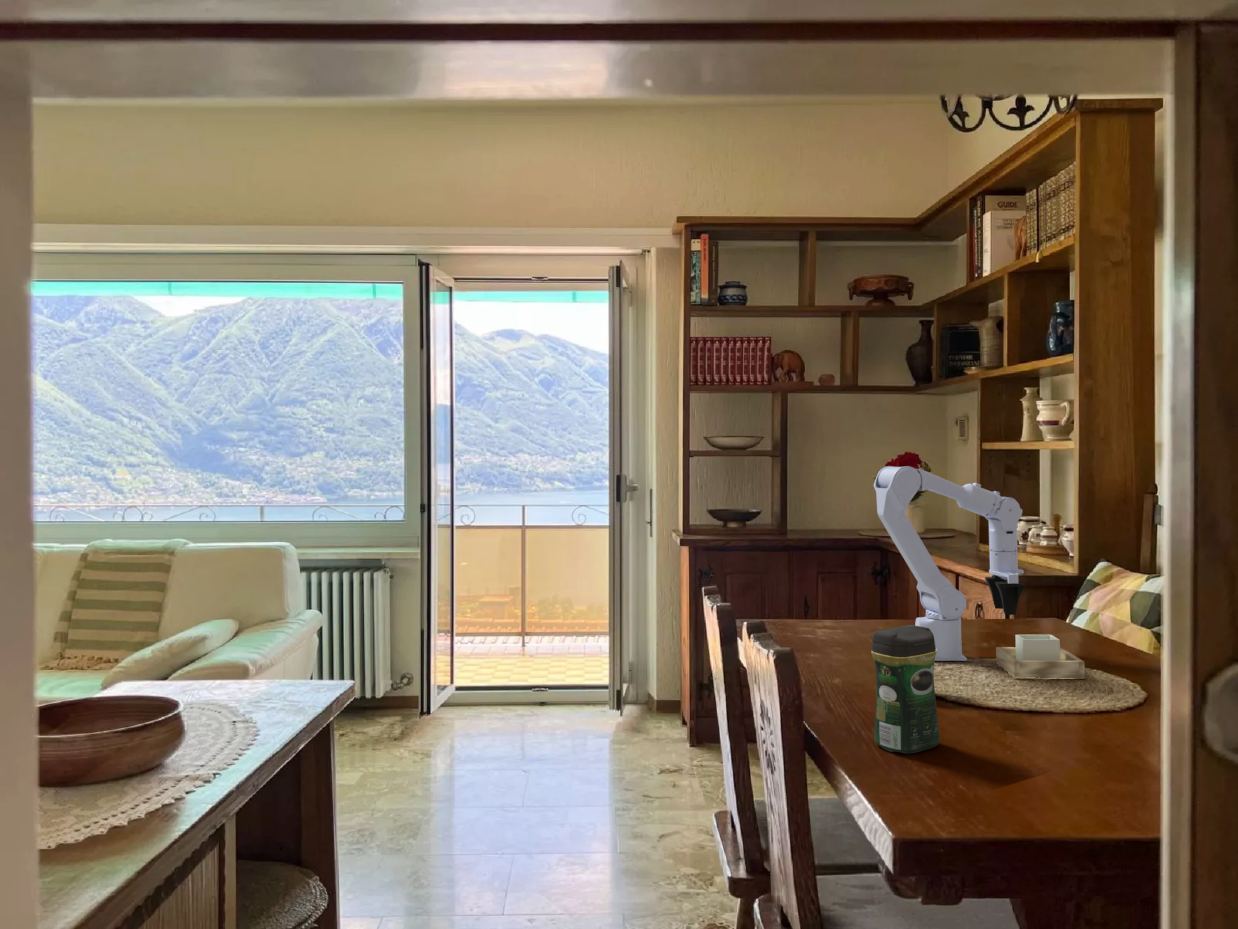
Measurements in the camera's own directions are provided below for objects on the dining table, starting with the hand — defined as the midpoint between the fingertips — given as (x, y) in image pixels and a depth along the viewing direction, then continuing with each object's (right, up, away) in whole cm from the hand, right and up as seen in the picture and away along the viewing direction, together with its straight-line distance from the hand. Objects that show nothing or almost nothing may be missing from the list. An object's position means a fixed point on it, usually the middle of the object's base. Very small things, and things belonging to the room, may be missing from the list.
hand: (1005, 611), depth 194 cm
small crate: (0, -9, -16) cm, 18 cm away
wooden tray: (0, -10, -16) cm, 19 cm away
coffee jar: (-41, -11, -58) cm, 72 cm away
